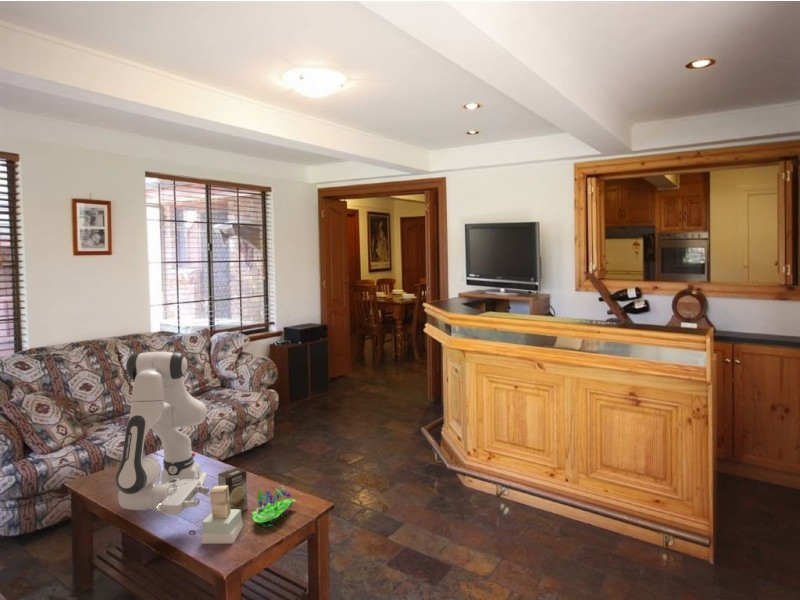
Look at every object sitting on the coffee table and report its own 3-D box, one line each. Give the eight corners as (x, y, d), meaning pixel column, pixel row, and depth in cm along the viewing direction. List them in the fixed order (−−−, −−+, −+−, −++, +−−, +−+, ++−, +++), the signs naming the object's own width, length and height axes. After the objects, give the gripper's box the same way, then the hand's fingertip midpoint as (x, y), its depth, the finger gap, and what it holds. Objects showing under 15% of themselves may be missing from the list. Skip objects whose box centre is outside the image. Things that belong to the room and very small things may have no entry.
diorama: (240, 523, 205) (238, 492, 203) (281, 502, 220) (280, 474, 219) (263, 535, 196) (262, 502, 195) (304, 512, 212) (303, 482, 211)
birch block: (217, 512, 198) (214, 486, 198) (230, 511, 198) (228, 485, 198) (212, 518, 194) (209, 492, 193) (226, 517, 194) (223, 491, 193)
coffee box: (228, 518, 209) (226, 478, 207) (219, 513, 213) (217, 474, 211) (248, 508, 216) (246, 470, 214) (239, 504, 220) (237, 466, 218)
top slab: (216, 518, 202) (215, 508, 202) (241, 519, 200) (240, 509, 200) (202, 532, 192) (202, 521, 192) (229, 534, 191) (228, 523, 190)
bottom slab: (213, 528, 202) (213, 518, 202) (242, 528, 202) (242, 518, 202) (202, 544, 191) (201, 534, 191) (233, 544, 191) (232, 534, 191)
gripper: (151, 502, 184) (191, 501, 184) (176, 476, 205) (212, 475, 205) (153, 519, 185) (192, 519, 185) (177, 492, 205) (213, 491, 205)
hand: (203, 496), depth 195 cm, fingers open, 8 cm apart
